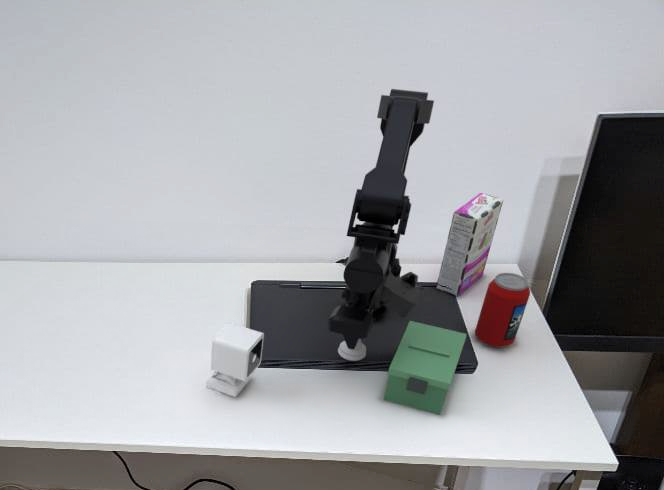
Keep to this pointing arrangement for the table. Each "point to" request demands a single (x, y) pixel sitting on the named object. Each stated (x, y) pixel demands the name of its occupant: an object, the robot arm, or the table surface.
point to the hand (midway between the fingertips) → (353, 343)
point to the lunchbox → (424, 367)
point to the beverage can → (502, 310)
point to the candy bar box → (469, 243)
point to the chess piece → (352, 351)
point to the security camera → (234, 358)
